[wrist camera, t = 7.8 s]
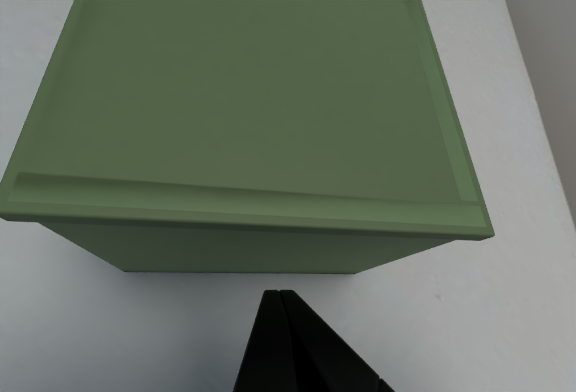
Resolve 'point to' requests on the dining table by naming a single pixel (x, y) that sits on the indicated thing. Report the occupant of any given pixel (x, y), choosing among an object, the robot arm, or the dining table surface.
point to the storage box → (246, 138)
